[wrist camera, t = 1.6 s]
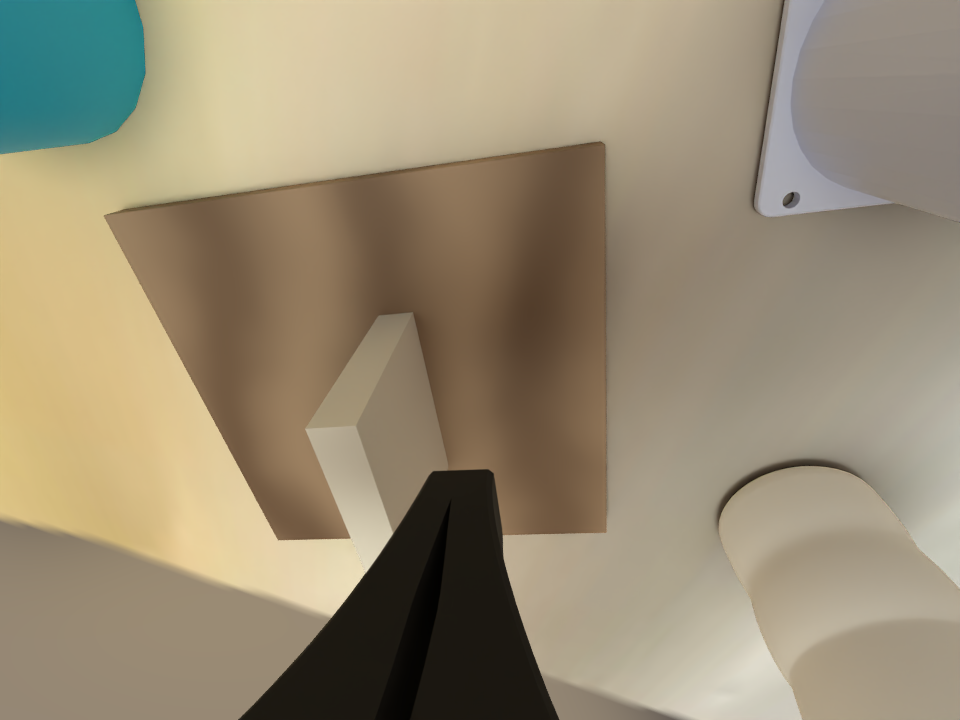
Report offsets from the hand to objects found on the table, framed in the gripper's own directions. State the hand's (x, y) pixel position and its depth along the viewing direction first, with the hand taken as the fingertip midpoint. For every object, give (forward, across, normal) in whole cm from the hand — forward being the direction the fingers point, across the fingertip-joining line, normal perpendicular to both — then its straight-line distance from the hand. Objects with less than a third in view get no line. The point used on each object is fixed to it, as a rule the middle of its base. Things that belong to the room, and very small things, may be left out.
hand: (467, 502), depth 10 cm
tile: (+9, +4, +3) cm, 10 cm away
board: (+10, +5, +3) cm, 11 cm away
